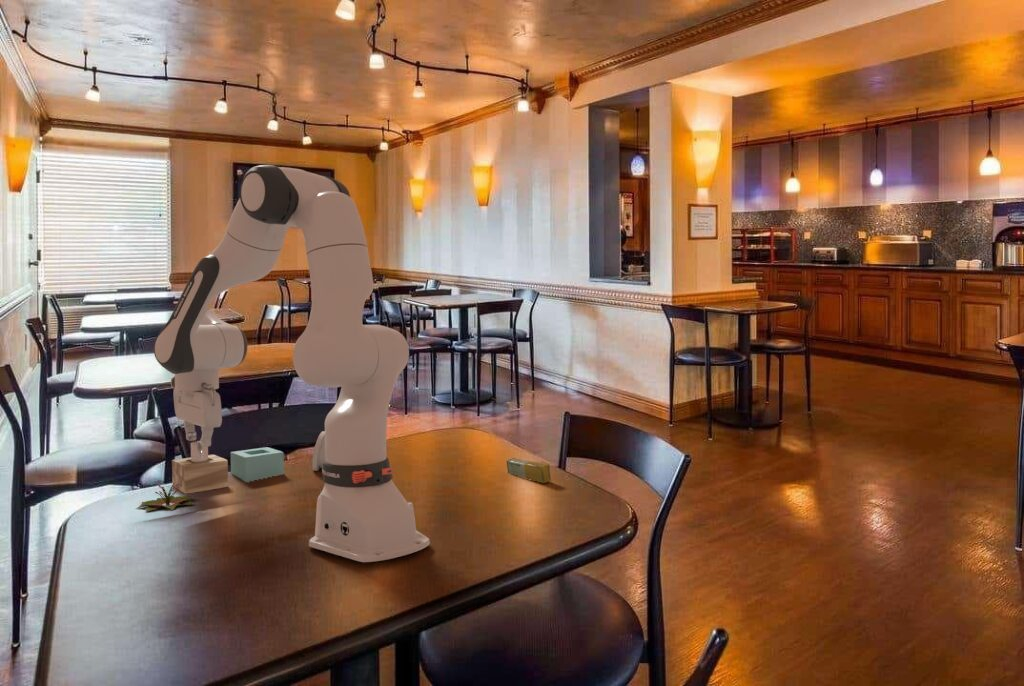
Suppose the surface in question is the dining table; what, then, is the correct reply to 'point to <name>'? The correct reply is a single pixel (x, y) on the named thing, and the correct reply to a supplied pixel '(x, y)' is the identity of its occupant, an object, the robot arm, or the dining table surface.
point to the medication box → (529, 470)
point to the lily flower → (167, 500)
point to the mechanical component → (319, 452)
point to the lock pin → (198, 452)
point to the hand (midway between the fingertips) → (198, 443)
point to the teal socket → (257, 463)
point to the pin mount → (200, 474)
